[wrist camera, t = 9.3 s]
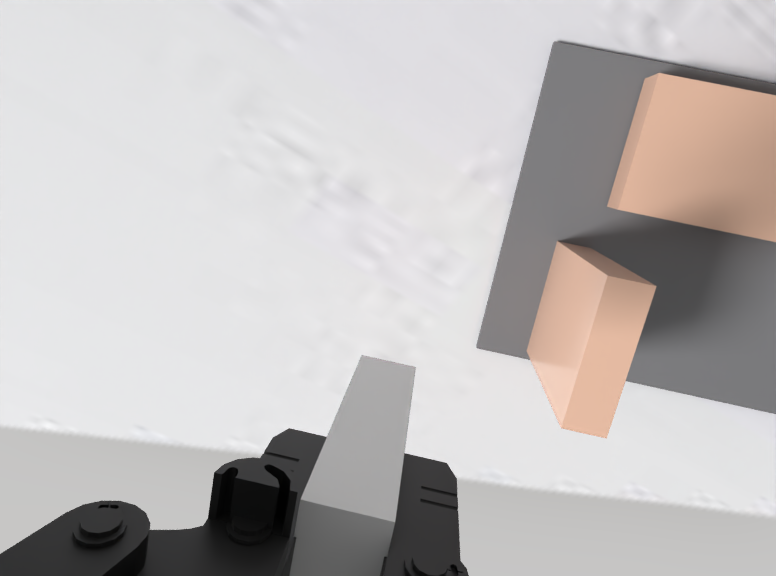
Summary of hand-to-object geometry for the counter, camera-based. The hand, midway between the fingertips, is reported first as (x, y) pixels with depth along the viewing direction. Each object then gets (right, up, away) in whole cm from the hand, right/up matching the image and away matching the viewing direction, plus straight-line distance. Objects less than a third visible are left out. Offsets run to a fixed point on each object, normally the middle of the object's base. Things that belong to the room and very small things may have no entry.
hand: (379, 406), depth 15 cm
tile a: (+13, +11, +14) cm, 22 cm away
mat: (+17, +6, +17) cm, 25 cm away
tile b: (+10, +2, +18) cm, 21 cm away
